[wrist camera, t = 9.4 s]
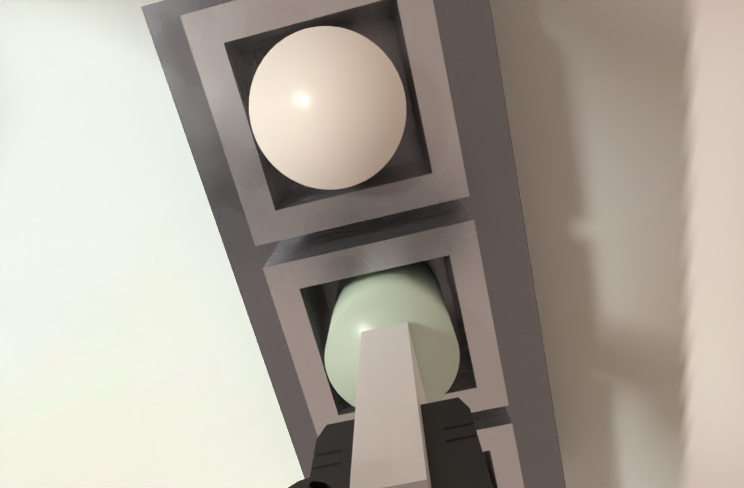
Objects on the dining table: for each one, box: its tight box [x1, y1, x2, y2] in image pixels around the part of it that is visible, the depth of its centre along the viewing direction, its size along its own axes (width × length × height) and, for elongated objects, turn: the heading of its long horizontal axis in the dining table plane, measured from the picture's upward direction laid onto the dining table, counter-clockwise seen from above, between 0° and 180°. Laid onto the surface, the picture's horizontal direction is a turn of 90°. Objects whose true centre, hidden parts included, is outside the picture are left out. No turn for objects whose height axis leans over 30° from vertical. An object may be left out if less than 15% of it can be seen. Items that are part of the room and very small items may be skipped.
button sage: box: [324, 262, 460, 407], centre depth 18 cm, size 4×4×4 cm
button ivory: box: [249, 26, 406, 190], centre depth 16 cm, size 4×4×4 cm
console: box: [142, 0, 566, 488], centre depth 20 cm, size 26×12×6 cm, turn 14°
